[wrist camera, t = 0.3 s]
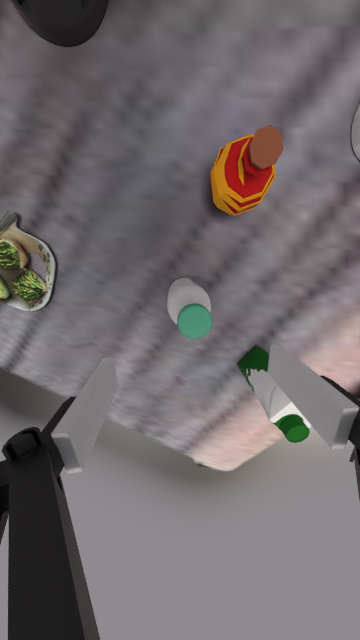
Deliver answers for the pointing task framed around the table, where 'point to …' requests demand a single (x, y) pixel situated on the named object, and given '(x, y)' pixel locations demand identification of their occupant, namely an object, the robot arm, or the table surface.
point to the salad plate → (23, 268)
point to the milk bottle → (189, 307)
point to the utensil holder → (356, 133)
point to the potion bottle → (245, 170)
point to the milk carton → (273, 396)
